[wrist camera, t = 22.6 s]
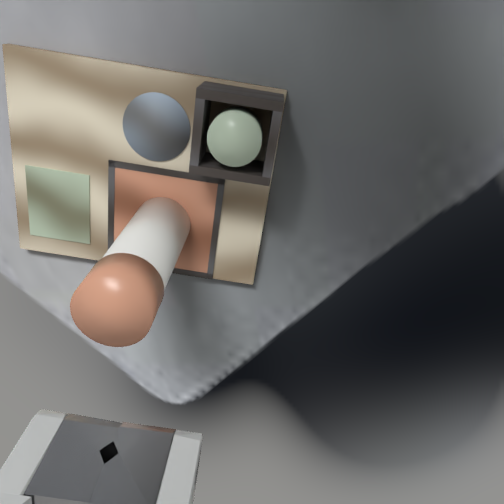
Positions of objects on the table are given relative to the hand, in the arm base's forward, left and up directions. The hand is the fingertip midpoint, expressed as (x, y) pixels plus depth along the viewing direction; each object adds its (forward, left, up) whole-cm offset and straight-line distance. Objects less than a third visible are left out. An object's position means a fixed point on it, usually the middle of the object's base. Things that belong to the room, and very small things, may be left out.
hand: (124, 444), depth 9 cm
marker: (+9, -5, -28) cm, 30 cm away
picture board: (+5, -7, -29) cm, 30 cm away
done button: (0, 0, -26) cm, 26 cm away
